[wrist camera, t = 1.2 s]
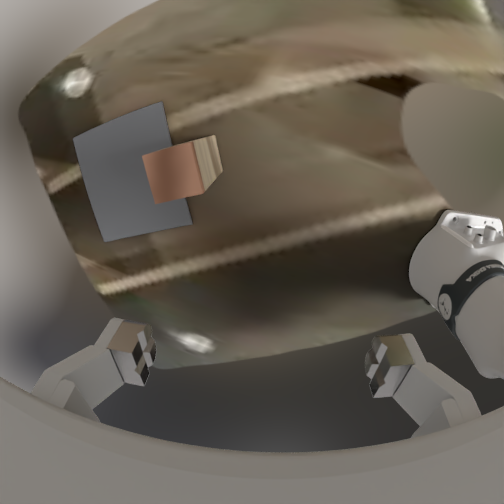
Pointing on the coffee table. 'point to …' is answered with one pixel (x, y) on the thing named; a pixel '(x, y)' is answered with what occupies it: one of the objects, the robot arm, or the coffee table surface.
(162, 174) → the birch block
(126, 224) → the rubber mat
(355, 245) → the coffee table surface
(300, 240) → the coffee table surface
